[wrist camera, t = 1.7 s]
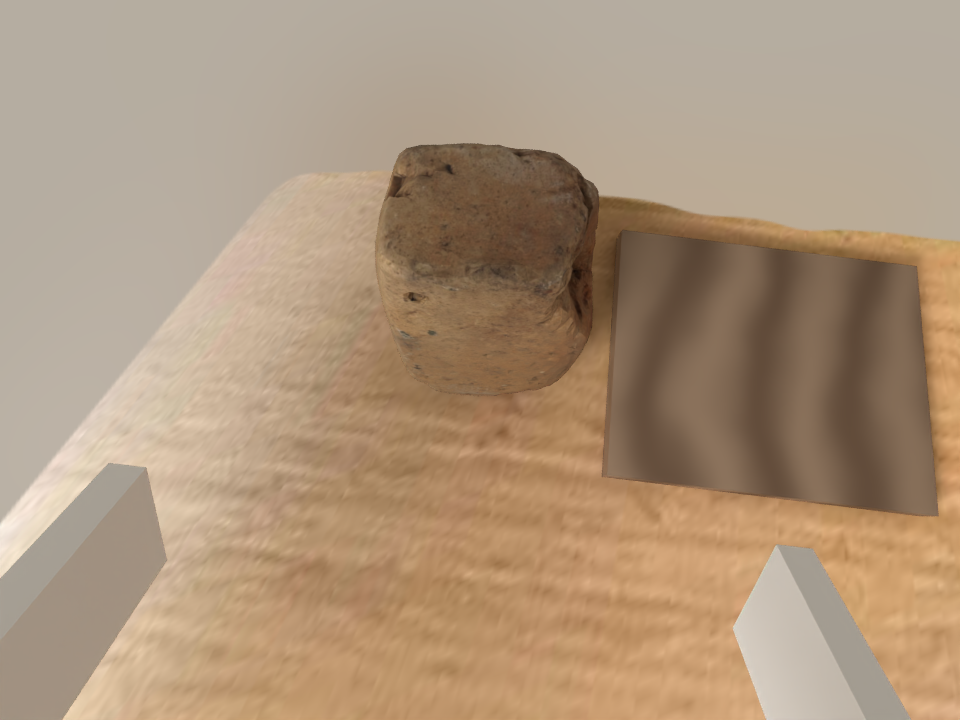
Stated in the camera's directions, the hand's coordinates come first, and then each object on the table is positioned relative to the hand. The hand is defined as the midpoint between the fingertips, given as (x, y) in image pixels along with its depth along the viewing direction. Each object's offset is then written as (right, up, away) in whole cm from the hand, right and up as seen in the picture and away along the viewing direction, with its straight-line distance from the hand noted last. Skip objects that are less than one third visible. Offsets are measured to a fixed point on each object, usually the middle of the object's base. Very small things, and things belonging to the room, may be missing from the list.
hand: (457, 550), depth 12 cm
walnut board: (+21, +3, +30) cm, 36 cm away
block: (+1, +5, +30) cm, 30 cm away
